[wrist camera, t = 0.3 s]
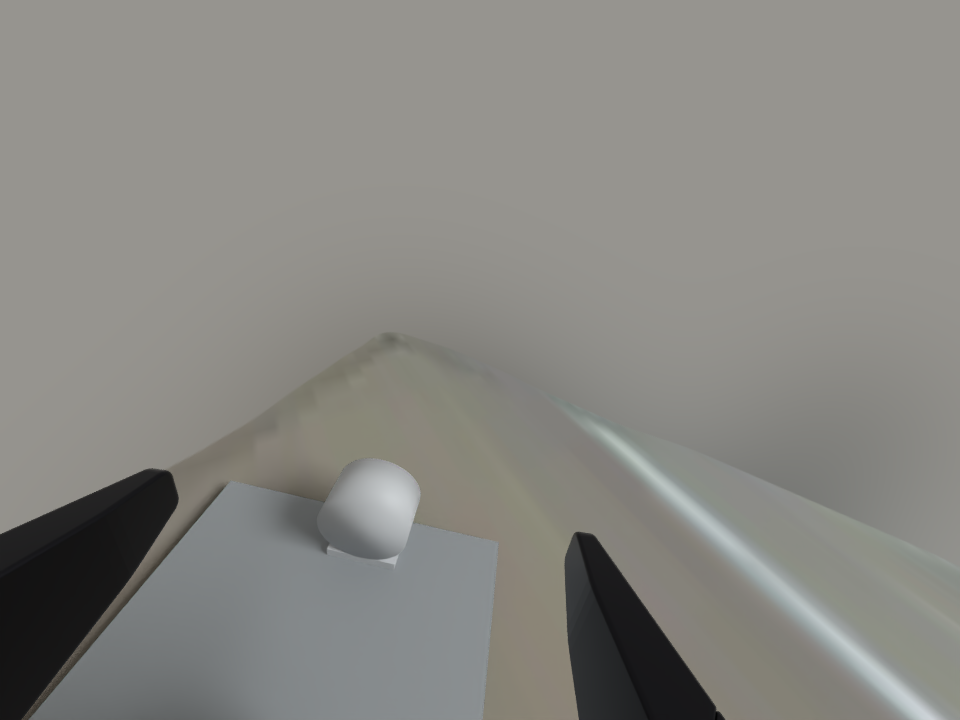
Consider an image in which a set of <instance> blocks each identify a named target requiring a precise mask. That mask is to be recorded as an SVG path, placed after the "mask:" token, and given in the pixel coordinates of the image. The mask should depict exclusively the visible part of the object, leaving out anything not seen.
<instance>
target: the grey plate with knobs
mask: <svg viewBox="0 0 960 720" xmlns="http://www.w3.org/2000/svg"><path fill="white" fill-rule="evenodd" d="M420 495H421V493H420V488H419V486H418V484H417V482H416V480H415V479H414V478H413V477H412V476H411V475H410V474H409V473H408V472H407V471H406V470H404V469H403V468H401V467H399V466H398V465H396V464H393V463H391V462H388V461H385V460H380V459H373V458H365V459H359V460H355V461H353V462H351V463H349V464H348V465H346V466H345V467H344V469H343V470H342V472H341V474H340V476H339V477H338V479H337V481H336V483H335V485H334V486H333V488H332V490H331V492H330V494H329V496H328V497H327V499H326V501H325V502H322V501H317V500H313V499H308V498H304V497H300V496H295V495H291V494H287V493H282V492H278V491H274V490H269V489H265V488H261V487H256V486H252V485H248V484H243V483H239V482H235V481H230V482H229V483H228V485H227V486H226V487H225V488H224V489H223V491H222V492H221V493H220V494H219V495H218V496H217V498H216V499H215V500H214V501H213V502H212V504H211V505H210V506H209V507H208V508H207V509H206V511H205V512H204V513H203V514H202V515H201V517H200V518H199V519H198V520H197V521H196V522H195V524H194V525H193V526H192V527H191V528H190V530H189V531H188V532H187V533H186V534H185V535H184V537H183V538H182V539H181V540H180V541H179V543H178V544H177V545H176V546H175V547H174V548H173V550H172V551H171V552H170V553H169V554H168V556H167V557H166V558H165V559H164V560H163V561H162V563H161V564H160V565H159V566H158V567H157V569H156V570H155V571H154V572H153V573H152V574H151V576H150V577H149V578H148V579H147V580H146V582H145V583H144V584H143V585H142V586H141V587H140V589H139V590H138V591H137V592H136V593H135V595H134V596H133V597H132V598H131V599H130V601H129V602H128V603H127V604H126V605H125V606H124V608H123V609H122V610H121V611H120V612H119V614H118V615H117V616H116V617H115V618H114V619H113V621H112V622H111V623H110V624H109V625H108V627H107V628H106V629H105V630H104V631H103V632H102V634H101V635H100V636H99V637H98V638H97V640H96V641H95V642H94V643H93V644H92V645H91V647H90V648H89V649H88V650H87V651H86V653H85V654H84V655H83V656H82V657H81V658H80V660H79V661H78V662H77V663H76V664H75V666H74V667H73V668H72V669H71V670H70V671H69V673H68V674H67V675H66V676H65V677H64V679H63V680H62V681H61V682H60V683H59V684H58V686H57V687H56V688H55V689H54V690H53V692H52V693H51V694H50V695H49V696H48V697H47V699H46V700H45V701H44V702H43V703H42V705H41V706H40V707H39V708H38V709H37V710H36V712H35V713H34V714H33V715H32V716H31V718H30V719H29V720H483V709H484V698H485V687H486V676H487V665H488V654H489V643H490V632H491V621H492V610H493V600H494V589H495V578H496V567H497V556H498V545H499V542H495V541H491V540H487V539H482V538H478V537H474V536H469V535H465V534H461V533H456V532H452V531H448V530H443V529H439V528H435V527H430V526H426V525H421V524H417V523H413V520H414V517H415V513H416V510H417V507H418V504H419V500H420Z"/></svg>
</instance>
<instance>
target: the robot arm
mask: <svg viewBox="0 0 960 720" xmlns="http://www.w3.org/2000/svg"><path fill="white" fill-rule="evenodd" d="M178 499H179V497H178V493H177V489H176V486H175V483H174V479H173V476H172V474H171V473H170V472H169V471H167V470H159V469H153V468H152V469H146V470H143V471H141V472H139V473H137V474H134V475H132V476H130V477H128V478H126V479H123V480H121V481H119V482H116V483H114V484H112V485H110V486H108V487H105V488H103V489H101V490H99V491H96V492H94V493H92V494H89V495H87V496H85V497H83V498H81V499H78V500H76V501H74V502H72V503H69V504H67V505H65V506H63V507H61V508H58V509H56V510H54V511H52V512H49V513H47V514H45V515H42V516H40V517H38V518H36V519H33V520H31V521H29V522H27V523H24V524H22V525H20V526H18V527H15V528H13V529H11V530H9V531H6V532H4V533H2V534H0V720H21V719H22V718H23V717H24V716H25V714H26V713H27V712H28V710H29V709H30V708H31V706H32V705H33V704H34V703H35V701H36V700H37V699H38V697H39V696H40V695H41V694H42V692H43V691H44V690H45V688H46V687H47V686H48V684H49V683H50V682H51V681H52V679H53V678H54V677H55V675H56V674H57V673H58V672H59V670H60V669H61V668H62V666H63V665H64V664H65V662H66V661H67V660H68V659H69V657H70V656H71V655H72V653H73V652H74V651H75V650H76V648H77V647H78V646H79V644H80V643H81V642H82V640H83V639H84V638H85V637H86V635H87V634H88V633H89V631H90V630H91V629H92V628H93V626H94V625H95V624H96V622H97V621H98V620H99V619H100V617H101V616H102V615H103V613H104V612H105V611H106V609H107V608H108V607H109V606H110V604H111V603H112V602H113V600H114V599H115V598H116V597H117V595H118V594H119V593H120V591H121V590H122V589H123V587H124V586H125V585H126V583H127V582H128V581H129V579H130V578H131V577H132V575H133V574H134V572H135V571H136V569H137V568H138V566H139V565H140V563H141V562H142V560H143V559H144V557H145V555H146V554H147V552H148V551H149V549H150V548H151V546H152V545H153V543H154V542H155V540H156V538H157V537H158V535H159V534H160V532H161V531H162V529H163V528H164V526H165V524H166V523H167V521H168V520H169V518H170V517H171V515H172V514H173V512H174V510H175V509H176V507H177V504H178ZM565 587H566V611H567V632H568V645H569V653H570V660H571V667H572V674H573V681H574V688H575V695H576V702H577V709H578V716H579V720H725V718H724V717H723V715H722V714H721V713H720V712H719V711H716V706H715V704H714V703H713V702H712V700H711V699H710V697H709V696H708V695H707V693H706V692H705V690H704V689H703V688H702V686H701V685H700V683H699V682H698V681H697V679H696V678H695V676H694V675H693V673H692V672H691V671H690V669H689V668H688V666H687V665H686V664H685V662H684V661H683V659H682V658H681V657H680V655H679V654H678V652H677V651H676V649H675V648H674V647H673V645H672V644H671V642H670V641H669V640H668V638H667V637H666V635H665V634H664V633H663V631H662V630H661V628H660V627H659V626H658V624H657V623H656V621H655V620H654V618H653V617H652V616H651V614H650V613H649V611H648V610H647V609H646V607H645V606H644V604H643V603H642V602H641V600H640V599H639V597H638V596H637V594H636V593H635V592H634V590H633V589H632V587H631V586H630V585H629V583H628V582H627V580H626V579H625V578H624V576H623V575H622V573H621V572H620V570H619V569H618V568H617V566H616V565H615V563H614V562H613V561H612V559H611V558H610V556H609V555H608V554H607V552H606V551H605V549H604V548H603V547H602V545H601V544H600V542H599V541H598V539H597V538H596V537H595V536H594V535H593V534H590V533H583V532H575V533H574V535H573V537H572V540H571V542H570V545H569V548H568V550H567V553H566V556H565Z"/></svg>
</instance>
